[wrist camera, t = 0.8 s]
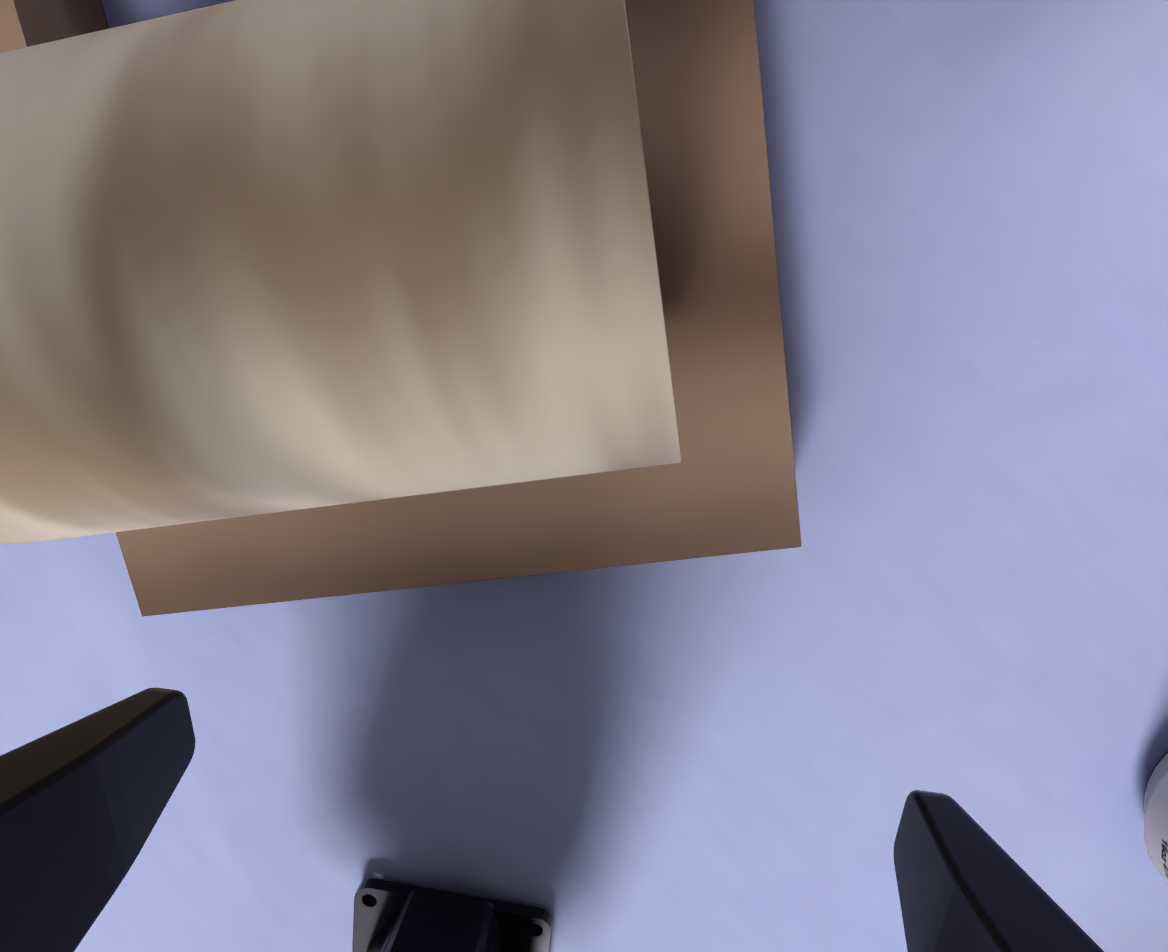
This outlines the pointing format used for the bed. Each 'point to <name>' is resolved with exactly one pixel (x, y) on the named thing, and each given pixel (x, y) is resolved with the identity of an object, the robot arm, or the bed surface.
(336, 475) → the roller
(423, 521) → the paper towel roll tray
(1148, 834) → the energy drink can
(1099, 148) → the bed surface
